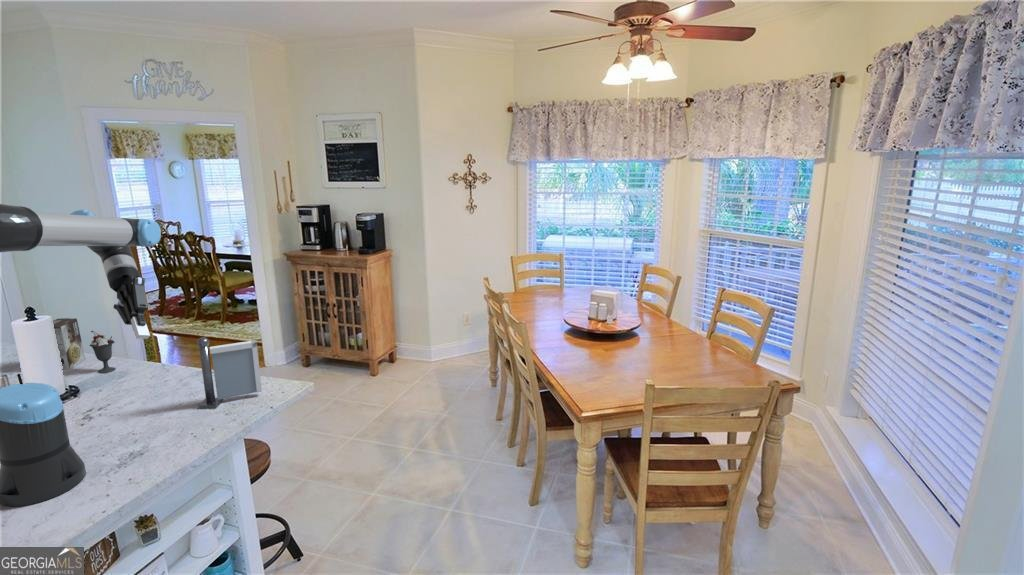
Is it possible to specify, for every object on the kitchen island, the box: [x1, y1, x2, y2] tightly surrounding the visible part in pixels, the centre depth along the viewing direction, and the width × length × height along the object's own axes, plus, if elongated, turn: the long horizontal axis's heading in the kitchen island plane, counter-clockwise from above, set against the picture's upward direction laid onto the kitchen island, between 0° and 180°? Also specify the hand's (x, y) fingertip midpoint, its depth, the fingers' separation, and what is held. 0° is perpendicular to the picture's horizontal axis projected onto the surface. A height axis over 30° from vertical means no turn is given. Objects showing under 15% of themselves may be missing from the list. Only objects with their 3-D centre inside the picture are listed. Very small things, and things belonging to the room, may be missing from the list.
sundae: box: [89, 330, 116, 374], centre depth 176 cm, size 7×7×15 cm
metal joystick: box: [196, 336, 224, 410], centre depth 153 cm, size 5×5×22 cm
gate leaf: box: [209, 339, 263, 400], centre depth 157 cm, size 12×2×17 cm, turn 121°
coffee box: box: [52, 317, 86, 371], centre depth 180 cm, size 9×6×16 cm
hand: (143, 336), depth 137 cm, fingers closed
